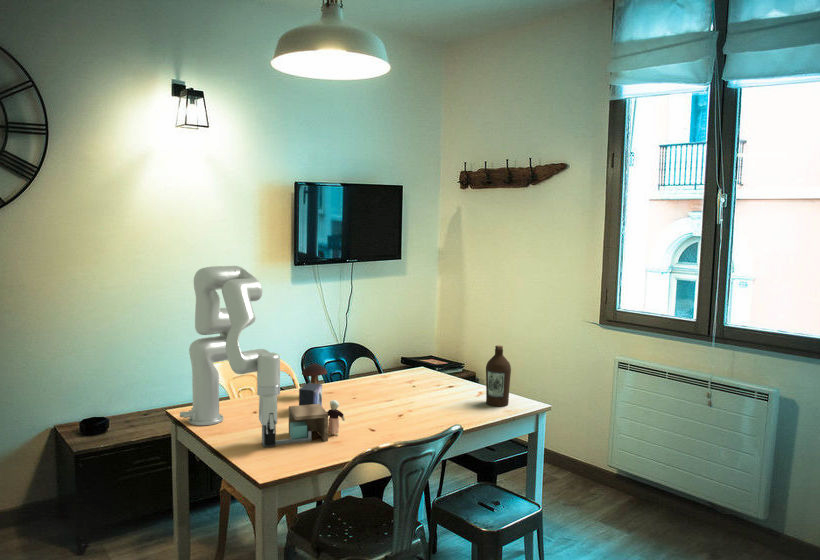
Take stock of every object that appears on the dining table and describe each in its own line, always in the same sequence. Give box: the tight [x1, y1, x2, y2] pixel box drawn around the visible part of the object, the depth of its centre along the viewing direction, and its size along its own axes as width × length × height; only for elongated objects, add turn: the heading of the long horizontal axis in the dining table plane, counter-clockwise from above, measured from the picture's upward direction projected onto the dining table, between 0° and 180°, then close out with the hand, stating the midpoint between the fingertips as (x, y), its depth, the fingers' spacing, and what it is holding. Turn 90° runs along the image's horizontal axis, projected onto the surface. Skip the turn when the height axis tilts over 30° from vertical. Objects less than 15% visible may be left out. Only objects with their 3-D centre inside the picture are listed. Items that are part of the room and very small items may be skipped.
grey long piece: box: [261, 423, 312, 448], centre depth 220 cm, size 16×6×7 cm, turn 112°
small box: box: [298, 382, 323, 407], centre depth 255 cm, size 11×6×10 cm, turn 168°
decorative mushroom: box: [301, 362, 328, 384], centre depth 276 cm, size 11×11×15 cm
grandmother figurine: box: [326, 399, 346, 437], centre depth 228 cm, size 8×4×13 cm, turn 93°
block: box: [289, 421, 307, 439], centre depth 224 cm, size 5×5×5 cm
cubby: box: [288, 404, 329, 442], centre depth 225 cm, size 11×13×10 cm
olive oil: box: [485, 345, 512, 408], centre depth 272 cm, size 11×11×25 cm
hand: (268, 442), depth 216 cm, fingers closed on grey long piece, 4 cm apart
